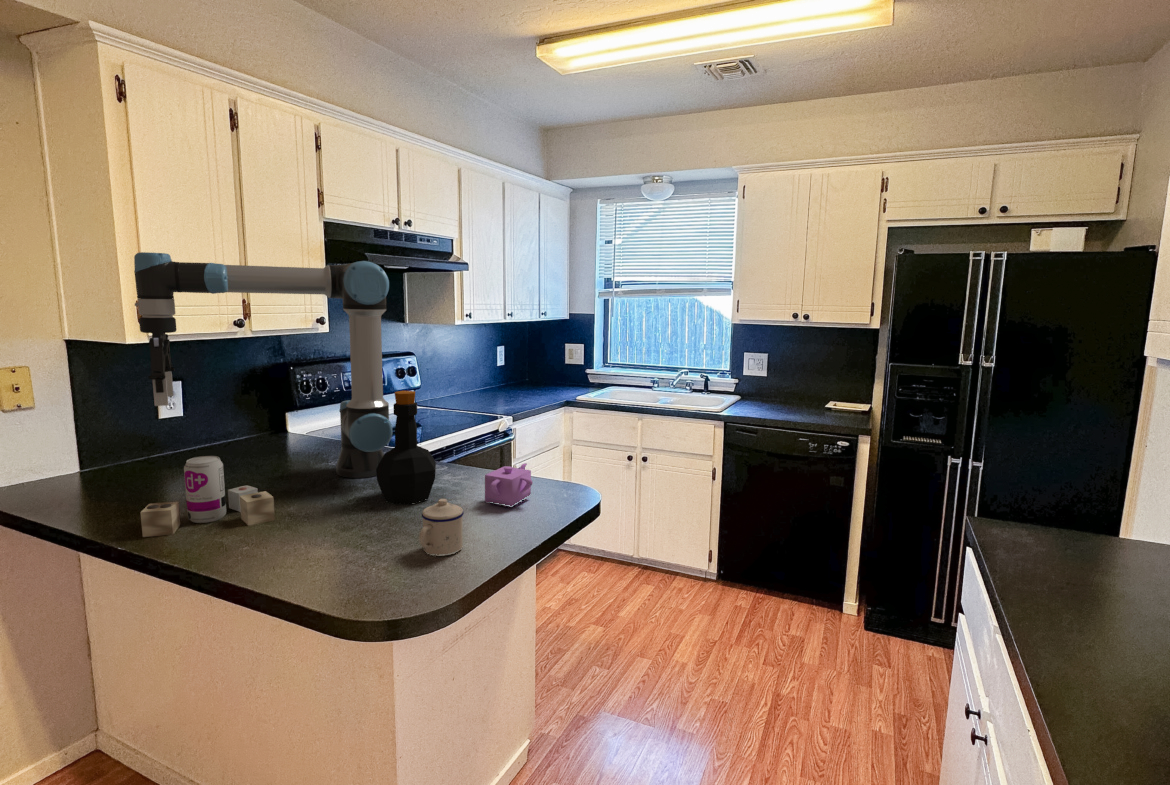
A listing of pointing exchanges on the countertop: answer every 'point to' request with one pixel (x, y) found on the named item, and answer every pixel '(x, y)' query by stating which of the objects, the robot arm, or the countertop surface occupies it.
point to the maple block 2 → (257, 508)
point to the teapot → (508, 485)
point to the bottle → (406, 458)
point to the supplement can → (205, 489)
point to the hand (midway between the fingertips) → (164, 401)
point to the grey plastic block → (237, 492)
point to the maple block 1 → (160, 519)
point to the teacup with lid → (442, 528)
